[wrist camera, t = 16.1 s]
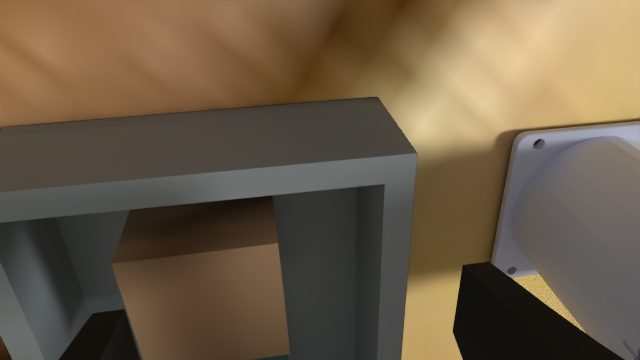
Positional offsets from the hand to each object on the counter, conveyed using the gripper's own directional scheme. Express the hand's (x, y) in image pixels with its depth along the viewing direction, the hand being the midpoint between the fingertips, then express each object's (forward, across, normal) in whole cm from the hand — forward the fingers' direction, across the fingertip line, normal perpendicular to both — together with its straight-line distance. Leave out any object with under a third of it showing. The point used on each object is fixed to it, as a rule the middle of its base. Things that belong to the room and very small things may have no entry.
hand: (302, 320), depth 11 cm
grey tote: (+10, +3, +8) cm, 13 cm away
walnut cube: (+10, +3, +4) cm, 11 cm away
